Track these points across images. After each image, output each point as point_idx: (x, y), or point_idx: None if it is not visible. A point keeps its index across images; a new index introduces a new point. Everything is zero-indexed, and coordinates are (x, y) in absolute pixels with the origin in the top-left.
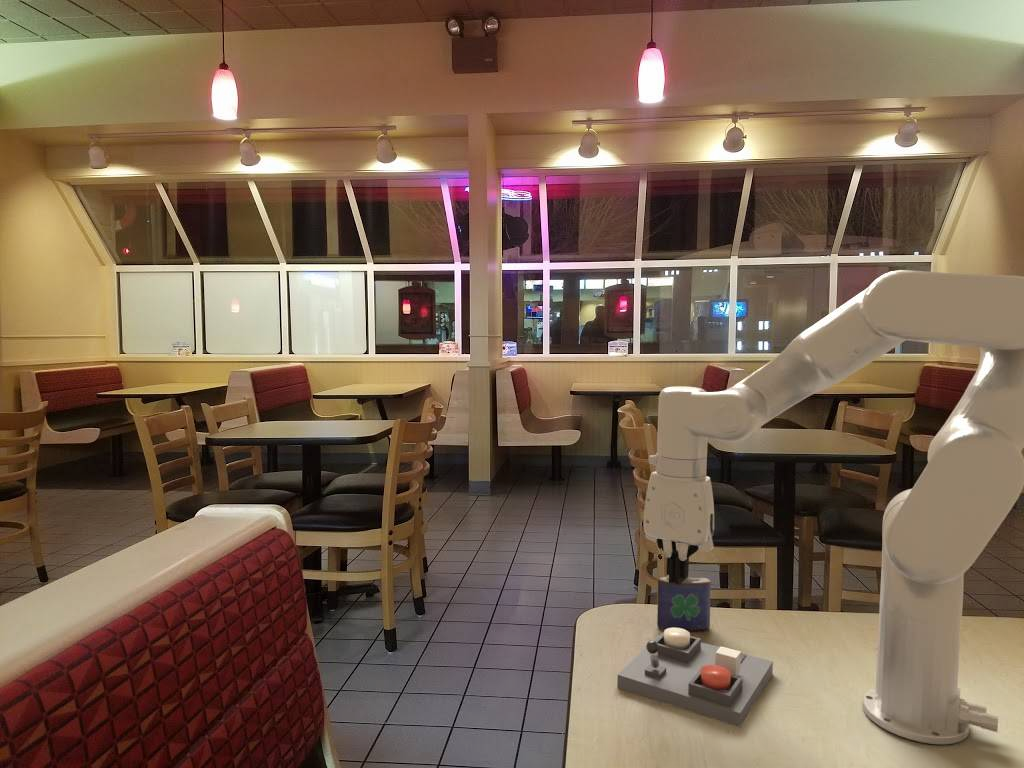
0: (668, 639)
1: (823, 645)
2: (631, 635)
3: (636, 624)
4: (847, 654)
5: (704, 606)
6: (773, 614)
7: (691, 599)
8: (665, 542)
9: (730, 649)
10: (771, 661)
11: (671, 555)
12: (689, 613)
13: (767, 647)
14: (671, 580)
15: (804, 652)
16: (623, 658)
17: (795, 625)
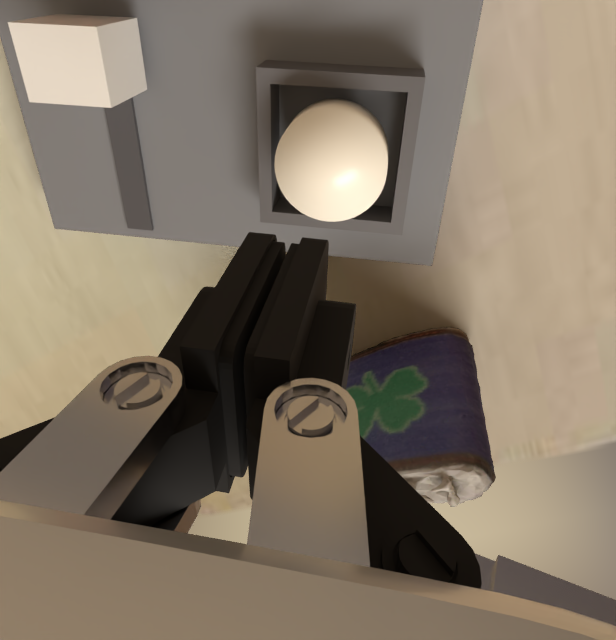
0: (354, 111)
1: (62, 402)
2: (550, 254)
3: (545, 334)
4: (6, 382)
5: None
6: (212, 495)
7: None
8: (323, 539)
9: (68, 98)
10: (56, 225)
11: (271, 403)
12: (364, 389)
13: (154, 347)
14: (302, 245)
15: (76, 357)
16: (550, 54)
17: None
